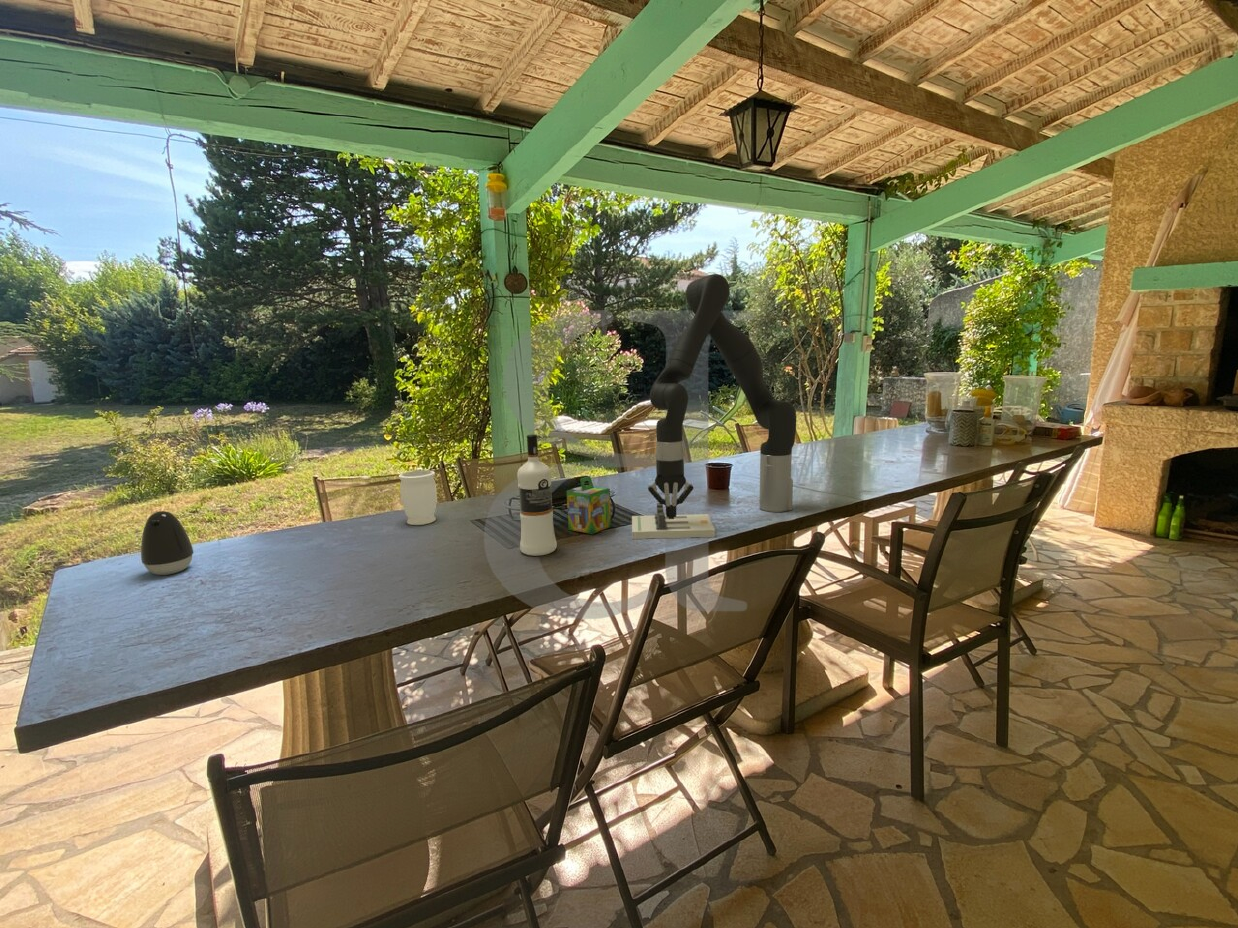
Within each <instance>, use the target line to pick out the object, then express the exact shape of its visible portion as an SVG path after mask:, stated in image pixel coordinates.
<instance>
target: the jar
mask: <svg viewBox="0 0 1238 928" xmlns="http://www.w3.org/2000/svg"><path fill="white" fill-rule="evenodd" d="M435 476H436V472H435V471H434V470H428V469H427V470H423V469H422V470H411V471H407V472H402V473H400V474H399V475H398V478H399V479H398V480H400V487H399V488H400V489H399V490H400V491H399V492H400V499H401V503H402V506H403V510H404V513H405V515H406V517H407V521H406V523H407V524H408V525H411V526H422V525H428V524H431V523H433V522H435V521H436V519H437V518H436V516H435V515H434V514H435V513H436V509H437V497H438V493H437V491H438V490H437V485H436V484H437V483H436V481H435V479H434V477H435Z"/></svg>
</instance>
